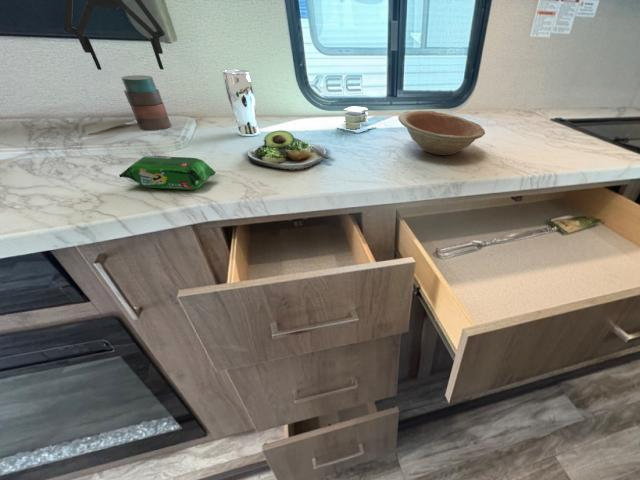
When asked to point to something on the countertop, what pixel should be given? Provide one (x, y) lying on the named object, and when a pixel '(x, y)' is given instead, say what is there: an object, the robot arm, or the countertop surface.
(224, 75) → the beer glass
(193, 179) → the snack package
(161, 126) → the brown striped cylinder
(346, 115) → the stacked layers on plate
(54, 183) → the countertop surface
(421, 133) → the bowl
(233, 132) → the countertop surface
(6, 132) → the countertop surface
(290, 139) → the salad plate
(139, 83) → the teal short cylinder
